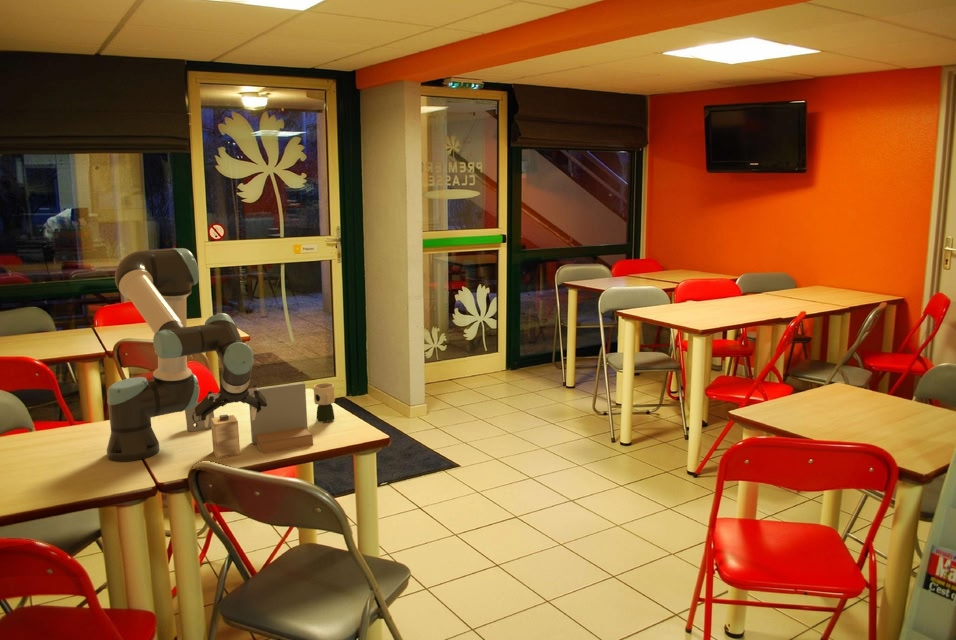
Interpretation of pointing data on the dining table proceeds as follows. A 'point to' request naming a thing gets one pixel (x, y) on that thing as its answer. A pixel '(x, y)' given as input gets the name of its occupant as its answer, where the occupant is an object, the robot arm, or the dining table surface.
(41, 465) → the dining table surface
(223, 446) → the tan canister
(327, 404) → the character mug
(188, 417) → the electrical switch
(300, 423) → the grey panel display stand
